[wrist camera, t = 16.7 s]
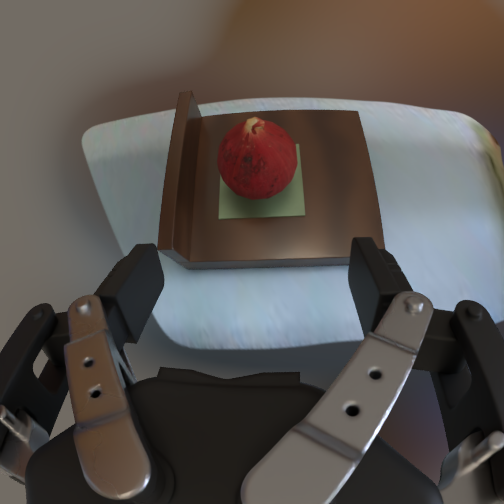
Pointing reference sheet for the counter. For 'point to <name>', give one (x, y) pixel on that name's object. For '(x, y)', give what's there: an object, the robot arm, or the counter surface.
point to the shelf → (276, 207)
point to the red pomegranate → (257, 159)
